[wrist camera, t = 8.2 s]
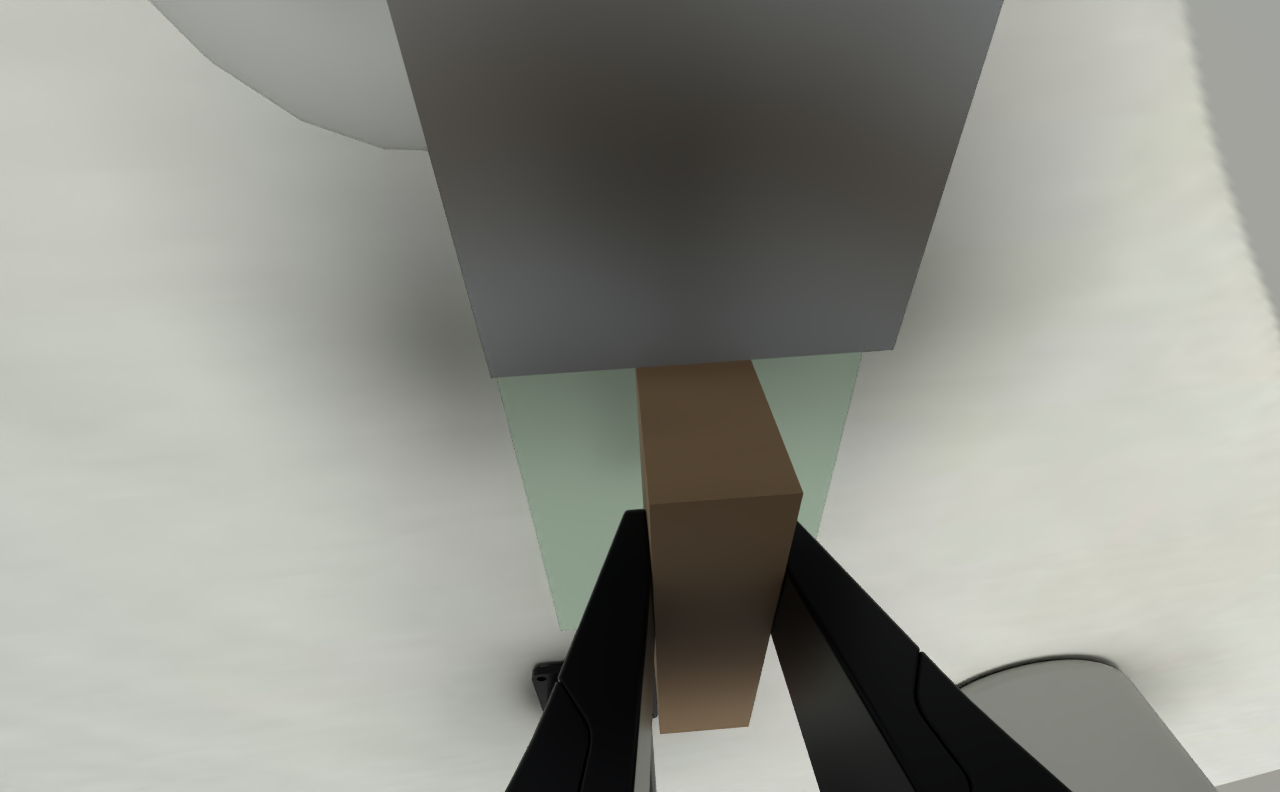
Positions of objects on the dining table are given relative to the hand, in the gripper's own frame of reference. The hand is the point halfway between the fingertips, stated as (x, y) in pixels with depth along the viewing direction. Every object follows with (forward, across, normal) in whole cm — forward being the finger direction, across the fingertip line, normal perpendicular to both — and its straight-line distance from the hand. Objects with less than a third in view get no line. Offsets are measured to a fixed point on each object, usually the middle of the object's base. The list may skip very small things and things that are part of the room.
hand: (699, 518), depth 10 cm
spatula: (+2, 0, -2) cm, 3 cm away
